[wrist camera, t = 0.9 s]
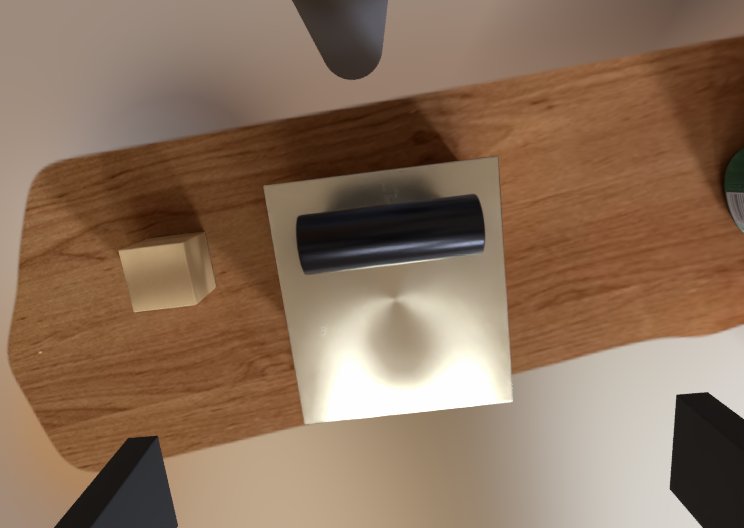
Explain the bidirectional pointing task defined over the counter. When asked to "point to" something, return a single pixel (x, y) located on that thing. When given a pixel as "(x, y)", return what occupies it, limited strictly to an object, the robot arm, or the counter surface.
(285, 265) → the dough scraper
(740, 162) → the coffee jar
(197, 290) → the block
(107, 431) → the counter surface
